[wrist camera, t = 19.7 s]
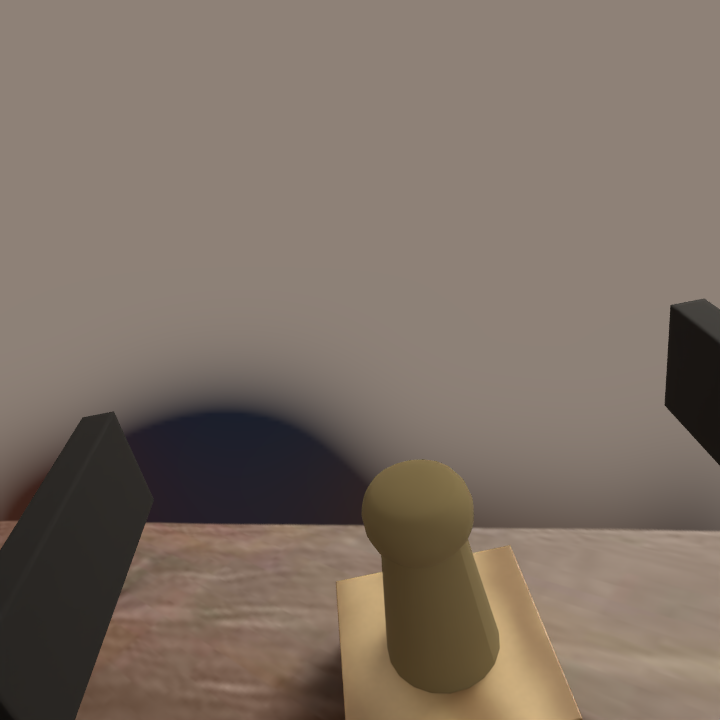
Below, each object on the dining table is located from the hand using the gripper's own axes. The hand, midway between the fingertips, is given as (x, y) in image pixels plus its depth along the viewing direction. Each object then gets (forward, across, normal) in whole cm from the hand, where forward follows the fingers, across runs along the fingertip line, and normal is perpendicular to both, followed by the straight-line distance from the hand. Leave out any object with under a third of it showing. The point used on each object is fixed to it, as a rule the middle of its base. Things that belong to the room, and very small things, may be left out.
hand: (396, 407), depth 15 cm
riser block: (+10, 0, -26) cm, 28 cm away
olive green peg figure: (+10, 0, -22) cm, 24 cm away
